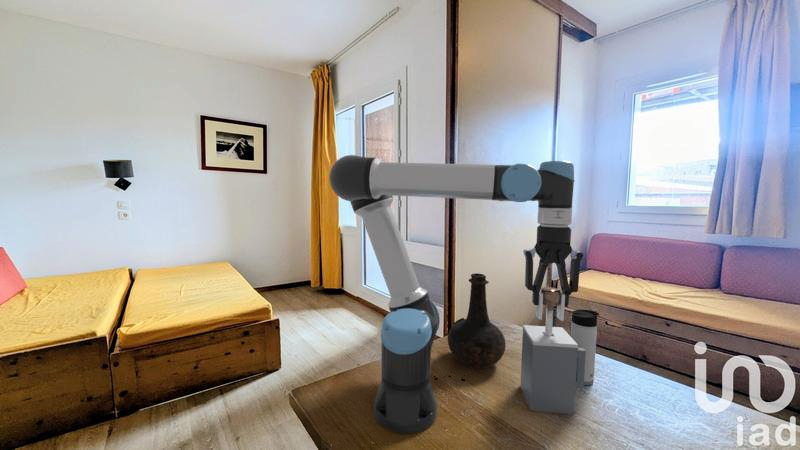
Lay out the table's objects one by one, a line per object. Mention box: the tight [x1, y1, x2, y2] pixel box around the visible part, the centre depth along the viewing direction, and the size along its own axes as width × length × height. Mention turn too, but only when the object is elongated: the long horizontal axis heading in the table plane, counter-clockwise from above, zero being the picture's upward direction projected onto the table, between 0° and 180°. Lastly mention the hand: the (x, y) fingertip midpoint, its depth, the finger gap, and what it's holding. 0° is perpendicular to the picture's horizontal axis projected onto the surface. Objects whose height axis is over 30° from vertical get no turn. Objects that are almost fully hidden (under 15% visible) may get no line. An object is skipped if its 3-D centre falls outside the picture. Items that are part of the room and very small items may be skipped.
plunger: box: [540, 286, 562, 336], centre depth 80 cm, size 4×4×24 cm
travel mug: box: [570, 309, 600, 386], centre depth 90 cm, size 6×7×20 cm
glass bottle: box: [447, 272, 507, 369], centre depth 99 cm, size 18×18×28 cm
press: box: [520, 324, 586, 415], centre depth 80 cm, size 14×10×17 cm
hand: (549, 317), depth 79 cm, fingers closed on plunger, 4 cm apart
